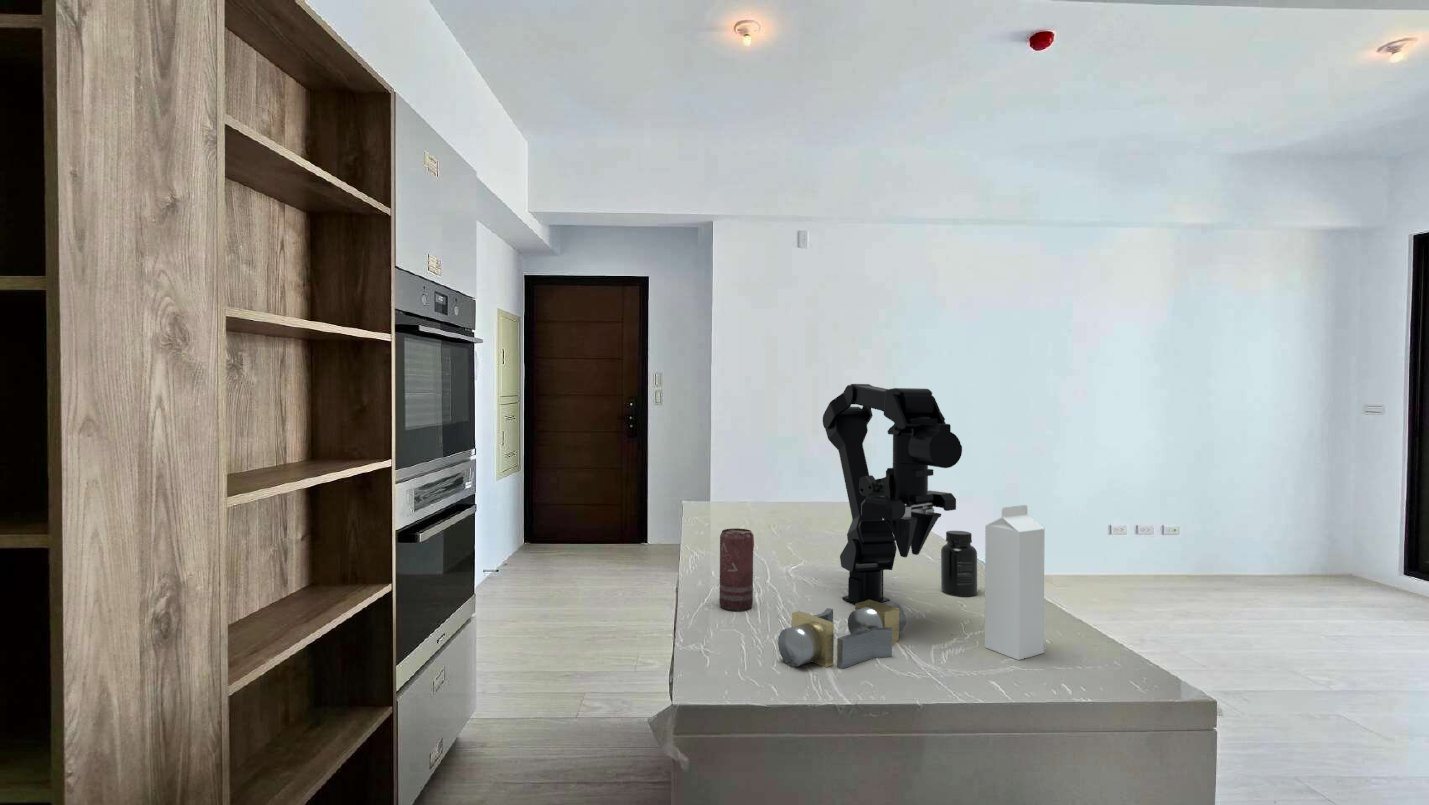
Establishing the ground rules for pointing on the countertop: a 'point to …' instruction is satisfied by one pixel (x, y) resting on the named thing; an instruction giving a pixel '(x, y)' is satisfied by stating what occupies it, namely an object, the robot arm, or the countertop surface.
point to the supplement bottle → (959, 564)
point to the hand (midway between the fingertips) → (909, 555)
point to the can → (736, 569)
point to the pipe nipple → (877, 617)
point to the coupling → (830, 642)
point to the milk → (1014, 584)
